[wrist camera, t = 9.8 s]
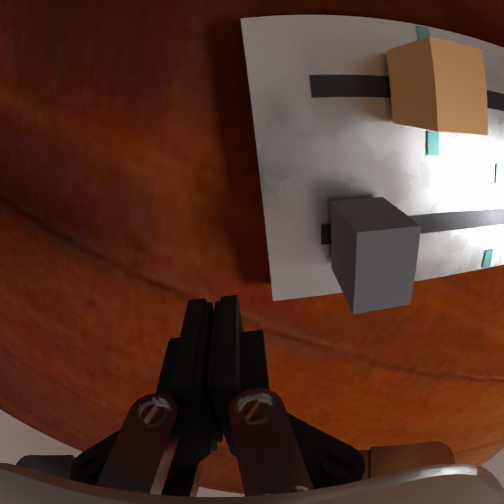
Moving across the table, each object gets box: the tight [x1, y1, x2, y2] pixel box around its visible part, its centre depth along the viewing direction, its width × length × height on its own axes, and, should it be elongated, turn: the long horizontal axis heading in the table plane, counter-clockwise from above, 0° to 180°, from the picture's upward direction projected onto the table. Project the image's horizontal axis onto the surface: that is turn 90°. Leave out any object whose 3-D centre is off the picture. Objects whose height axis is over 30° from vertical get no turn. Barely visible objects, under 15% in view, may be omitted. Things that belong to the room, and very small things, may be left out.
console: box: [241, 15, 504, 301], centre depth 16 cm, size 26×16×2 cm, turn 97°
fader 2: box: [386, 37, 488, 135], centre depth 11 cm, size 3×4×4 cm
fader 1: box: [330, 197, 421, 314], centre depth 15 cm, size 3×4×4 cm
